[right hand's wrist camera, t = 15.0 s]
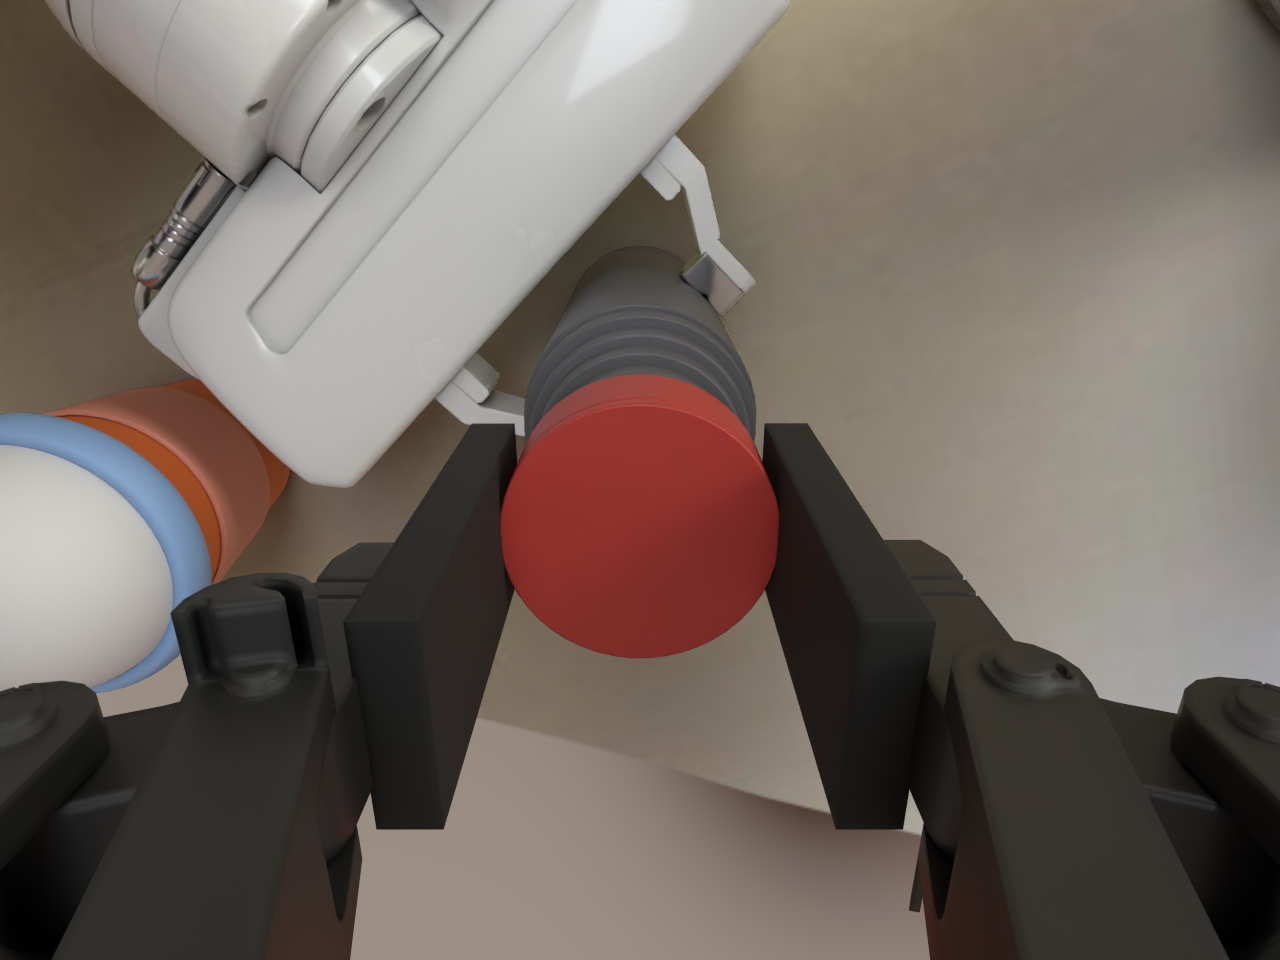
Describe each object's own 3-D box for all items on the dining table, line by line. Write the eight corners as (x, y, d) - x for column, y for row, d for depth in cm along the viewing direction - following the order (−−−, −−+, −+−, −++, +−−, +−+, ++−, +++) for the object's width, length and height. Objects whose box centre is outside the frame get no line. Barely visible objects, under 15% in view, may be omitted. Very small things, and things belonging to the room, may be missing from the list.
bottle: (737, 308, 31) (873, 505, 13) (648, 410, 32) (660, 715, 14) (630, 215, 30) (614, 290, 12) (543, 327, 31) (411, 546, 13)
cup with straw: (140, 550, 35) (-328, 909, 18) (77, 345, 31) (-573, 551, 14) (345, 543, 34) (68, 898, 18) (304, 336, 31) (-86, 534, 14)
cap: (518, 363, 13) (499, 393, 12) (780, 382, 14) (801, 415, 12) (514, 594, 15) (497, 650, 13) (747, 609, 15) (761, 666, 13)
